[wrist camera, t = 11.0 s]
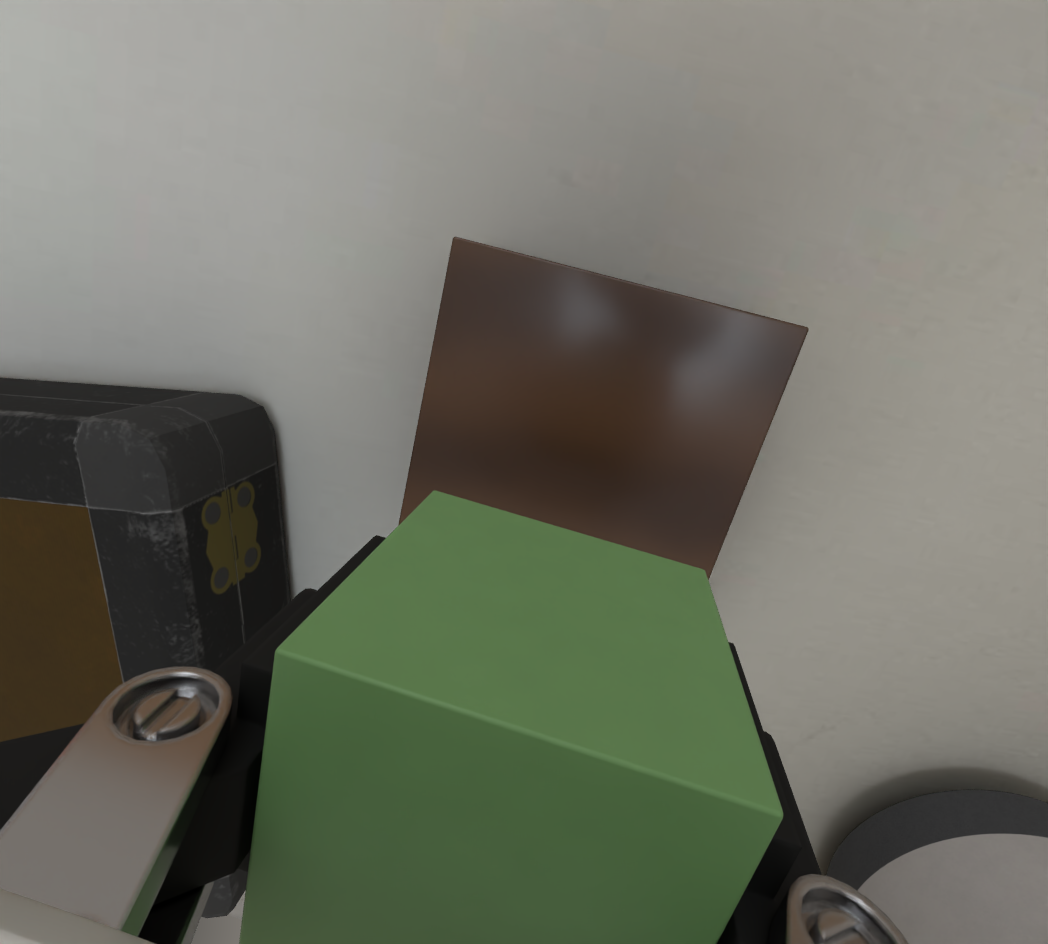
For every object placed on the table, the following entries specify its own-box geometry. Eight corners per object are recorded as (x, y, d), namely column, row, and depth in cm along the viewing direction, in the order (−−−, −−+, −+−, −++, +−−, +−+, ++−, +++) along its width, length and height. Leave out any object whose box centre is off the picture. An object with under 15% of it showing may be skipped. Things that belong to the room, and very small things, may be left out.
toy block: (433, 488, 10) (272, 648, 5) (706, 569, 10) (786, 816, 5) (388, 707, 12) (233, 978, 7) (621, 783, 11) (623, 1125, 7)
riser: (486, 249, 24) (453, 235, 19) (771, 322, 23) (810, 327, 18) (425, 542, 28) (385, 590, 23) (660, 614, 27) (668, 680, 22)
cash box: (-75, 369, 30) (-298, 391, 23) (277, 393, 27) (152, 427, 20) (29, 750, 37) (-115, 858, 30) (315, 801, 34) (232, 935, 27)
